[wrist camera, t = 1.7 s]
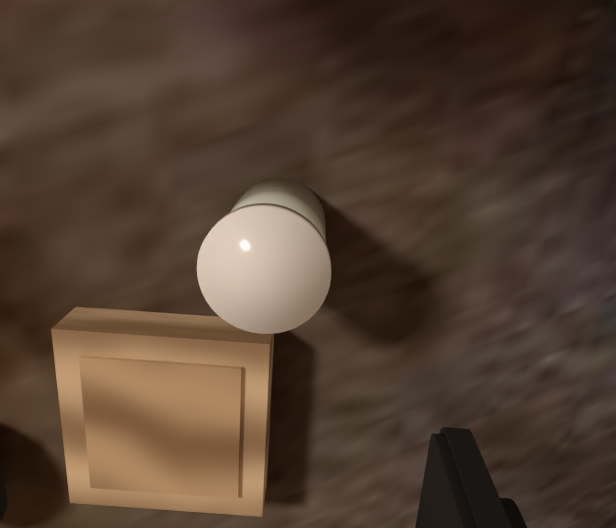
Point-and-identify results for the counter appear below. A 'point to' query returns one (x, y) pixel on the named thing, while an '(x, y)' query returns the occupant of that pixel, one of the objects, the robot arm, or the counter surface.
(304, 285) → the canister
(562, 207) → the counter surface
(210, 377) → the base
